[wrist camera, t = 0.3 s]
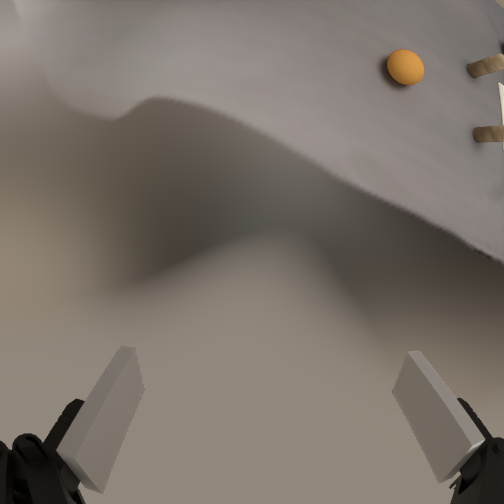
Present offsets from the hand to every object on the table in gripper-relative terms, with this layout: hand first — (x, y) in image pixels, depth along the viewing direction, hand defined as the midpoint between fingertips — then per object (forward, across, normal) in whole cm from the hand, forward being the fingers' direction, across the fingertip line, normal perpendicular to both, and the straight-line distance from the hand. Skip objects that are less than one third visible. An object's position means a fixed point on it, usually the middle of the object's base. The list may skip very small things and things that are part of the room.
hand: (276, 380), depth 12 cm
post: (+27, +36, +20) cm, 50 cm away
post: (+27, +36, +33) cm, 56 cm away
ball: (+24, +19, +27) cm, 41 cm away
